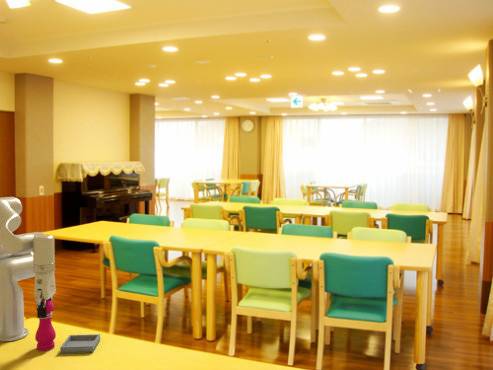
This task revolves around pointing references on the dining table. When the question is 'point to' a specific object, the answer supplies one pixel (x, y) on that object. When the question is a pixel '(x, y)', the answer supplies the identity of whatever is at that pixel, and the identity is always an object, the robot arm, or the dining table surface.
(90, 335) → the tray
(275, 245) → the dining table surface
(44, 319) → the pepper mill
